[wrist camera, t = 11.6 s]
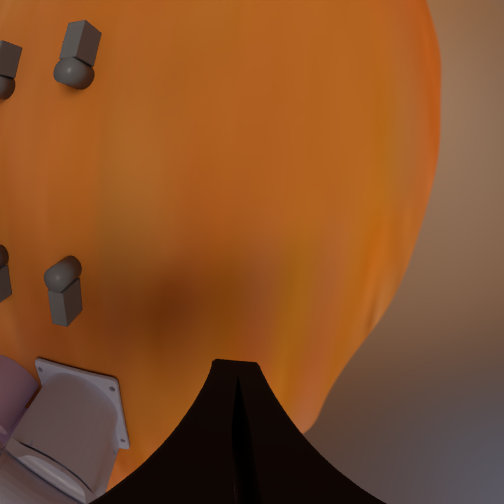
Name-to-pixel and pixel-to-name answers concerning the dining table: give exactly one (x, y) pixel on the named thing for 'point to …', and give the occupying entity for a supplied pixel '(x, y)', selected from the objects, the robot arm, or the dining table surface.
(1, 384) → the clip
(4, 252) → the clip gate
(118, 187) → the dining table surface
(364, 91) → the dining table surface
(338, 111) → the dining table surface
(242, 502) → the robot arm
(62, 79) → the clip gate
